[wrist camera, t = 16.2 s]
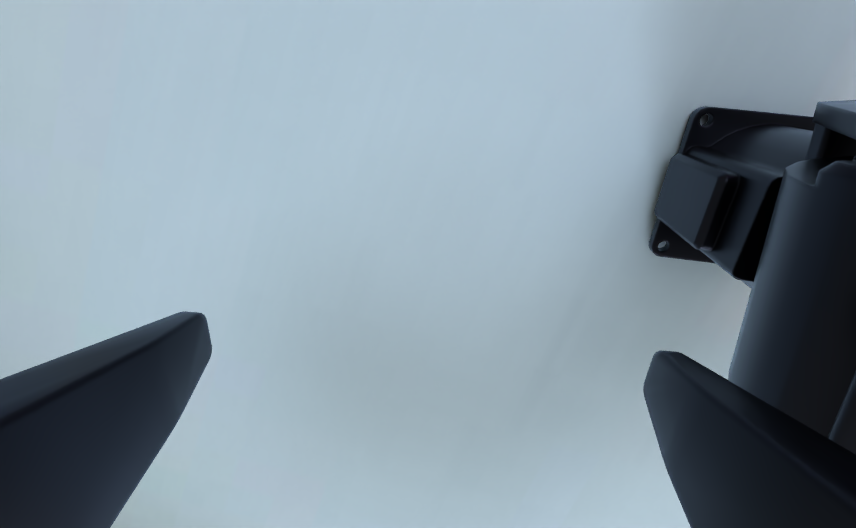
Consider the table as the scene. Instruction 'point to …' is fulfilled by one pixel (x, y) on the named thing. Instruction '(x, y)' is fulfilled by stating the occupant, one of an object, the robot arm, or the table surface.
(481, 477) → the table surface
